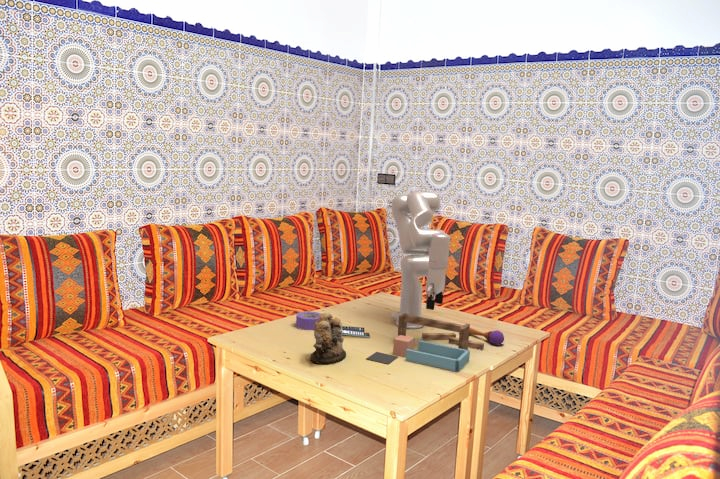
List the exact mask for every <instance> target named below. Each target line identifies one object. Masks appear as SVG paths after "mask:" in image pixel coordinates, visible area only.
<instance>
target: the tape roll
mask: <svg viewBox="0 0 720 479" xmlns="http://www.w3.org/2000/svg"><path fill="white" fill-rule="evenodd" d="M321 314H322V313H321V312H317V311H300V312H297V313H296V317H295V326H296V328H298V329H300V330H305V331H314V328H315V323H316V321H318V318H319V316H320V315H321Z"/></svg>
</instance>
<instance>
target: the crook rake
mask: <svg viewBox="0 0 720 479" xmlns="http://www.w3.org/2000/svg"><path fill="white" fill-rule="evenodd" d="M407 323H412V324H418V325H423V327H429V328H434V329H438V330H445V331H450V332H453V333H458V334H459V336H458V338H459V345H457V348H460V349H465V350H469V347H468V342H469V340H470V334H469V330H470V328H471V324H469V323H465V324H460V323H459V324H458V323H454V322H449V321H444V320H438V319H432V318H428V317H423V316H421V317H417V316H412V315H407V314H406V313H403V314H401V315H400V316H399V324H398V326H397V327H398V328H397V337H398V336H399V335H403V336H407V328H406V327H407Z"/></svg>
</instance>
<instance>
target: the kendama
mask: <svg viewBox="0 0 720 479" xmlns="http://www.w3.org/2000/svg"><path fill="white" fill-rule="evenodd" d="M469 335H473V336H481V337H484V338H485V339H486V340H487V341H488V342H490V343H491V344H492V345H494V346H499V345H502V344H503V343H504V341H505V336H504V333H503V332H501V331H500V330H492V331H486V332H481V331H479V330H477V329H475V328H471V327H470V330H469Z"/></svg>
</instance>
